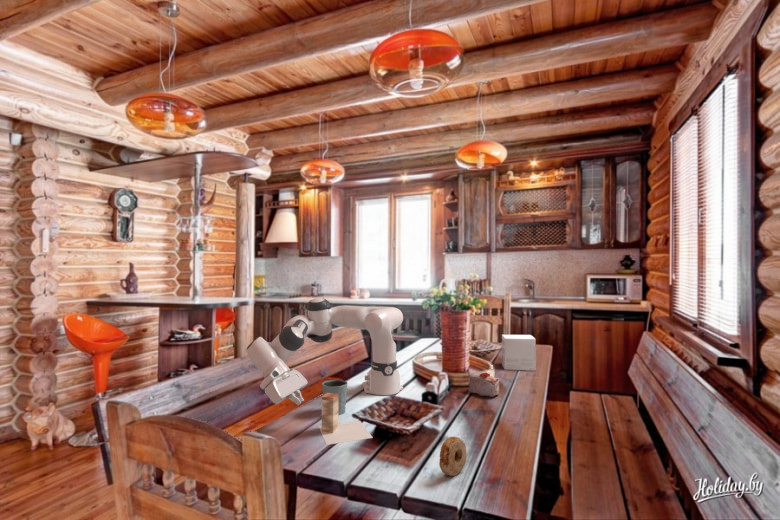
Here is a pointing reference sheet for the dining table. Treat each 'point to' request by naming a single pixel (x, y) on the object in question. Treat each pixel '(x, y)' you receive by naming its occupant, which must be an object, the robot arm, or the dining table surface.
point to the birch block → (330, 412)
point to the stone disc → (452, 456)
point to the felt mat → (346, 433)
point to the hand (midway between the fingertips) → (301, 403)
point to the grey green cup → (337, 392)
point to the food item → (484, 384)
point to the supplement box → (519, 352)
